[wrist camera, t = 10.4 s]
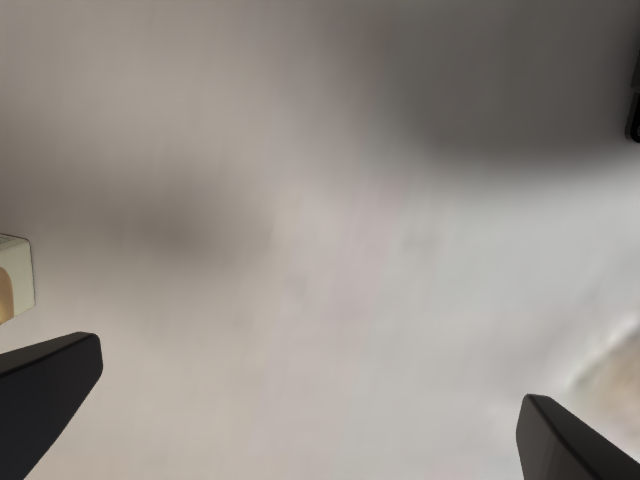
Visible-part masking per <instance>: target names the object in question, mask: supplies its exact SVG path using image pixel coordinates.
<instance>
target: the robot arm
mask: <svg viewBox="0 0 640 480" xmlns="http://www.w3.org/2000/svg"><path fill="white" fill-rule="evenodd" d="M631 87H632V89H633V91H634V96H633V100H632V104H631V108H630V111H629V115H628V119H627V123H626V127H625V136H626V138H627V139H628V140H629V141H630V142H633V143H640V136H639V135H638V134H637V129H638V128H639V126H640V50H639V54H638V58H637V62H636V67H635V71H634V75H633V79H632V83H631ZM102 371H103V360H102V352H101V344H100V339H99V337H98V336H97V335H96V334H94V333H87V332H75V333H72V334H68V335H65V336H61V337H58V338H54V339H51V340H48V341H44V342H41V343H37V344H34V345H30V346H27V347H23V348H20V349H16V350H13V351H10V352H6V353H3V354H0V480H24V478H25V477H26V476H27V475H28V474H29V472H30V471H31V470H32V469H33V468H34V466H35V465H36V464H37V463H38V462H39V460H40V459H41V458H42V457H43V456H44V454H45V453H46V452H47V451H48V450H49V448H50V447H51V446H52V445H53V443H54V442H55V441H56V440H57V438H58V437H59V436H60V434H61V433H62V431H63V430H64V429H65V427H66V426H67V424H68V423H69V421H70V420H71V419H72V417H73V416H74V414H75V413H76V411H77V410H78V409H79V407H80V406H81V404H82V403H83V401H84V400H85V398H86V397H87V396H88V394H89V393H90V391H91V390H92V388H93V387H94V385H95V384H96V383H97V381H98V380H99V378H100V376H101V374H102ZM516 442H517V447H518V452H519V456H520V461H521V466H522V471H523V476H524V480H640V464H639V463H638V462H637V461H635V460H634V459H633V458H631V457H630V456H629V455H627V454H626V453H625V452H623V451H622V450H621V449H619V448H618V447H617V446H615V445H614V444H613V443H611V442H610V441H608V440H607V439H606V438H604V437H603V436H602V435H600V434H599V433H598V432H596V431H595V430H594V429H592V428H591V427H590V426H588V425H587V424H586V423H584V422H583V421H582V420H580V419H579V418H578V417H576V416H575V415H574V414H572V413H571V412H570V411H568V410H567V409H565V408H564V407H563V406H561V405H560V404H559V403H557V402H556V401H555V400H553V399H552V398H551V397H548V396H544V395H536V394H527V395H525V397H524V398H523V401H522V405H521V410H520V414H519V419H518V423H517V428H516Z"/></svg>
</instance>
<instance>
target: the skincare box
mask: <svg viewBox="0 0 640 480" xmlns="http://www.w3.org/2000/svg"><path fill="white" fill-rule="evenodd" d="M34 305H35V301H34V288H33V274H32V263H31V253H30V244H29V242H28V241H27V240H25V239H21V238H16V237H12V236H6V235H1V234H0V324H2V323H4V322H6V321H8V320H10V319H11V318H13V317H15V316H17V315H19V314H21V313H23V312H24V311H26V310H28V309H30V308H32V307H33V306H34Z"/></svg>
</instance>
